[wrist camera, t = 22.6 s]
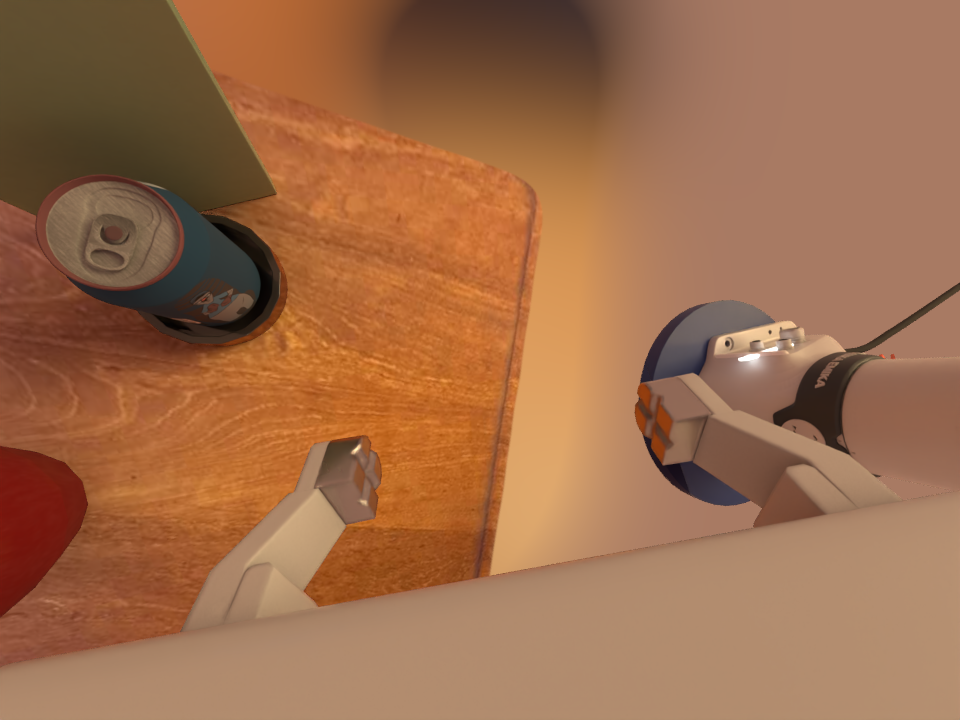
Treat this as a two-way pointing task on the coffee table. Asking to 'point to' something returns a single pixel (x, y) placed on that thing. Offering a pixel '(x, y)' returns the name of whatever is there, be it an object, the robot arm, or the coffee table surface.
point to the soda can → (145, 251)
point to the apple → (34, 519)
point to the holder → (264, 308)
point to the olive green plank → (116, 104)
